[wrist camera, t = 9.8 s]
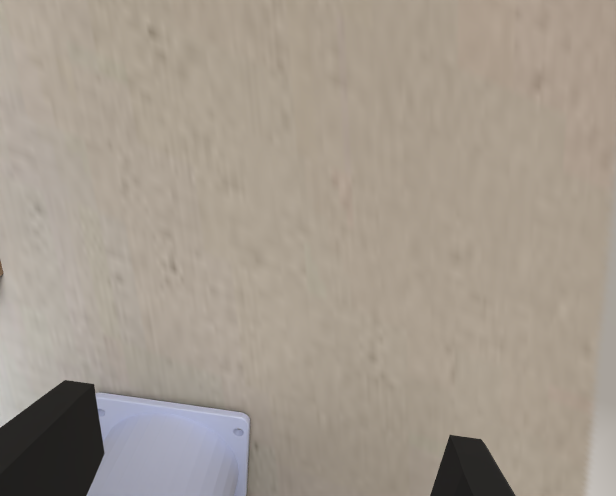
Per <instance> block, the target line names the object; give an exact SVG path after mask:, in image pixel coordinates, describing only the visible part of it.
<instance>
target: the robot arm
mask: <svg viewBox="0 0 616 496" xmlns="http://www.w3.org/2000/svg"><path fill="white" fill-rule="evenodd" d="M237 428H239V429H241V430H239V429H237ZM249 436H250V418H249V417H248V415H246V414H245V413H242V412H236V411H229V410H222V409H215V408H207V407H200V406H193V405H186V404H179V403H172V402H165V401H158V400H151V399H144V398H137V397H129V396H122V395H115V394H108V393H96V394H95V389H94V384H88V383H81V382H74V381H67V380H65V381H63V382H62V383H60V384H59V385H58V386H56V387H55V388H54V389H52V390H51V391H49V392H48V393H47V394H45V395H44V396H43V397H41V398H40V399H39V400H37V401H36V402H34V403H33V404H32V405H30V406H29V407H28V408H26V409H25V410H24V411H22V412H21V413H20V414H18V415H17V416H16V417H14V418H13V419H12V420H10V421H9V422H8V423H6V424H5V425H4V426H2V427H1V428H0V496H247V477H248V456H249ZM430 496H515V494H514V492H513V491H512V489H511V487H510V486H509V484H508V482H507V481H506V479H505V477H504V476H503V474H502V472H501V471H500V469H499V467H498V465H497V464H496V462H495V460H494V459H493V457H492V455H491V453H490V452H489V450H488V448H487V447H486V445H485V444H484V442H483V441H482V440H481V439H475V438H468V437H461V436H454V435H450V436H449V439H448V443H447V446H446V449H445V452H444V455H443V458H442V461H441V464H440V467H439V470H438V474H437V477H436V480H435V483H434V486H433V489H432V492H431V495H430Z"/></svg>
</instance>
